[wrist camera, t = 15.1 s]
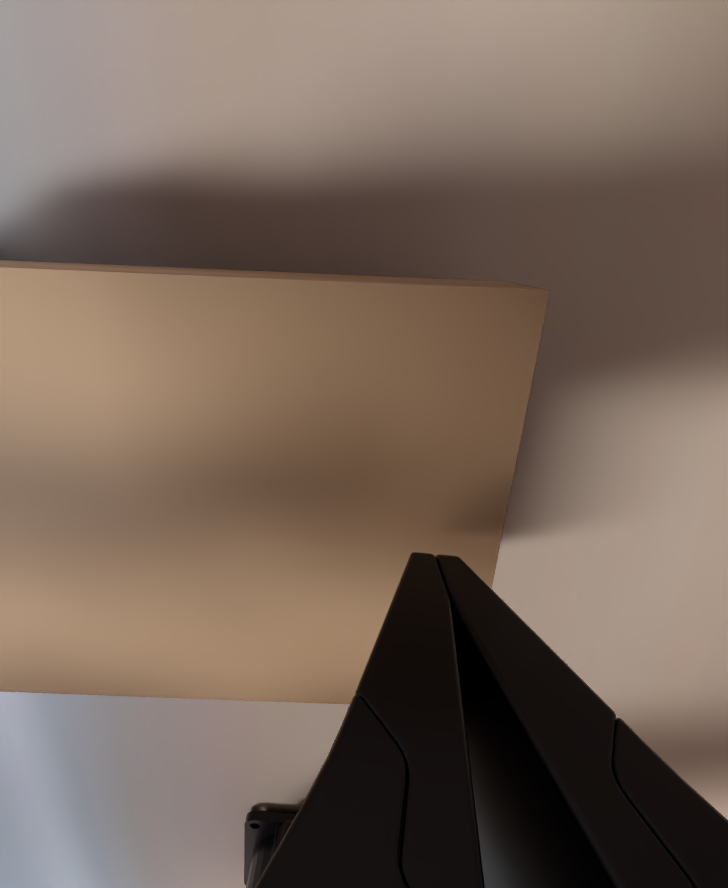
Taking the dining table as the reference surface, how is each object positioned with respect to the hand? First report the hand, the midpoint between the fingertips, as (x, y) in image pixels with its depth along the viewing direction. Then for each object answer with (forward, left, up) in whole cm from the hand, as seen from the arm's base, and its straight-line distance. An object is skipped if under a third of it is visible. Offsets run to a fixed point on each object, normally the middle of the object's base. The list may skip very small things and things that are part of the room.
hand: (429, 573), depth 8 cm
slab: (-1, +5, -4) cm, 7 cm away
